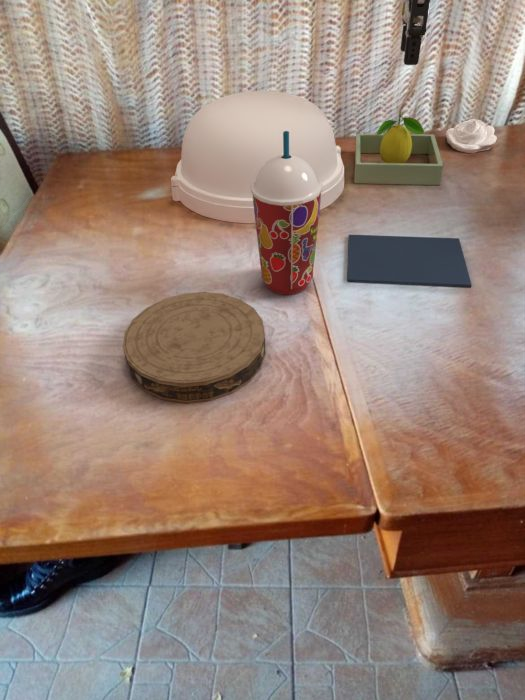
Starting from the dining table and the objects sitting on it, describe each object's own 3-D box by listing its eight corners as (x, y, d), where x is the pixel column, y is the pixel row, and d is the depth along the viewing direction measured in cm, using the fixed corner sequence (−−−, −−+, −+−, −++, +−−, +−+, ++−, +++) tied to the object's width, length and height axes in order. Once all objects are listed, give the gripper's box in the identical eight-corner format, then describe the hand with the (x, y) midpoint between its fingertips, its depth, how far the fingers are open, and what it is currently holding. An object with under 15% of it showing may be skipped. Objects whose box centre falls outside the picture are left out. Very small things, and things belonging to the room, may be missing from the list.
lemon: (418, 171, 98) (427, 114, 91) (389, 177, 96) (396, 119, 90) (399, 158, 102) (406, 102, 96) (371, 163, 101) (377, 107, 94)
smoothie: (327, 294, 70) (336, 139, 57) (266, 306, 69) (260, 151, 55) (305, 261, 76) (308, 115, 63) (249, 272, 75) (239, 124, 61)
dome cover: (307, 140, 111) (308, 65, 101) (381, 200, 89) (391, 112, 80) (154, 167, 103) (141, 89, 94) (195, 240, 82) (183, 148, 72)
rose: (509, 118, 104) (489, 133, 98) (503, 141, 106) (483, 157, 101) (460, 109, 109) (438, 123, 103) (455, 131, 111) (434, 146, 106)
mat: (458, 240, 79) (459, 238, 79) (471, 287, 70) (471, 284, 70) (348, 236, 81) (348, 234, 81) (347, 281, 72) (347, 279, 72)
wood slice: (196, 296, 71) (193, 277, 69) (293, 344, 63) (293, 324, 61) (99, 361, 62) (92, 342, 60) (197, 426, 54) (194, 406, 52)
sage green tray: (431, 152, 104) (434, 134, 101) (439, 185, 93) (443, 165, 91) (354, 151, 106) (356, 133, 103) (354, 183, 95) (355, 164, 92)
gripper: (459, -66, 71) (437, 69, 81) (446, -74, 81) (428, 46, 92) (401, -64, 71) (386, 69, 82) (395, -73, 82) (383, 47, 93)
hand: (408, 57), depth 87 cm, fingers open, 8 cm apart
